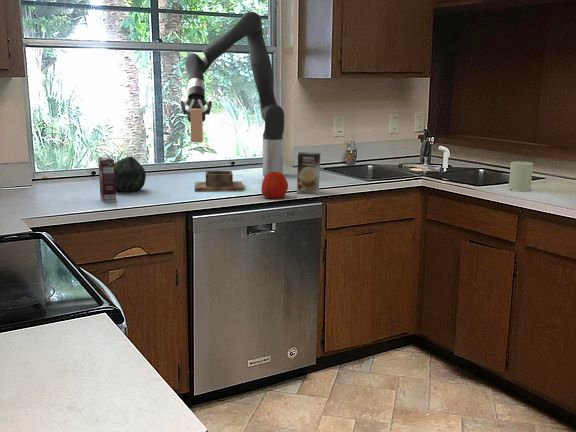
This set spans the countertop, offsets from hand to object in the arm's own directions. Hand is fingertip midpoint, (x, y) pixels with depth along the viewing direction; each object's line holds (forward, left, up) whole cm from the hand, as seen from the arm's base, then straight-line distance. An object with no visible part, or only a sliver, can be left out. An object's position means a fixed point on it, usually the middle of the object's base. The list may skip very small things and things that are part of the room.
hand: (196, 120), depth 273 cm
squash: (+28, +16, -28) cm, 42 cm away
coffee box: (-45, +24, -27) cm, 58 cm away
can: (-137, +23, -27) cm, 142 cm away
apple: (-30, +34, -27) cm, 53 cm away
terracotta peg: (0, -2, -9) cm, 9 cm away
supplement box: (+33, +36, -27) cm, 56 cm away
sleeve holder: (-9, +12, -27) cm, 31 cm away
